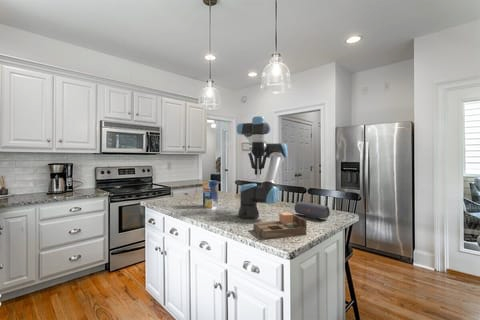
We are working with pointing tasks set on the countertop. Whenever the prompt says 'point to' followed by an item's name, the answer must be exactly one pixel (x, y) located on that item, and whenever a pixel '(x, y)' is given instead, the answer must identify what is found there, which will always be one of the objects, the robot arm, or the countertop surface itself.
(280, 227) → the box
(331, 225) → the countertop surface
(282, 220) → the block
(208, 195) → the beverage box
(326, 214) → the bluetooth speaker
